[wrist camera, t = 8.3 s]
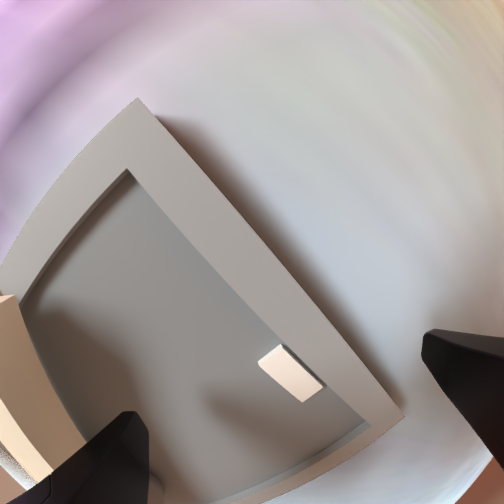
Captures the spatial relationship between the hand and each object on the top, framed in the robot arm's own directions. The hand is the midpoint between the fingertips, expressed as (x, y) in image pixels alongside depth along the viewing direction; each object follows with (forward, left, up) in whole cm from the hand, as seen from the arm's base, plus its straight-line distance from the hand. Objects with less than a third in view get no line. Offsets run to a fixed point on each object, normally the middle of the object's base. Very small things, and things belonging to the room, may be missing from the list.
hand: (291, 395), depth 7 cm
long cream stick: (-10, +2, -2) cm, 10 cm away
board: (-9, +1, -3) cm, 9 cm away
